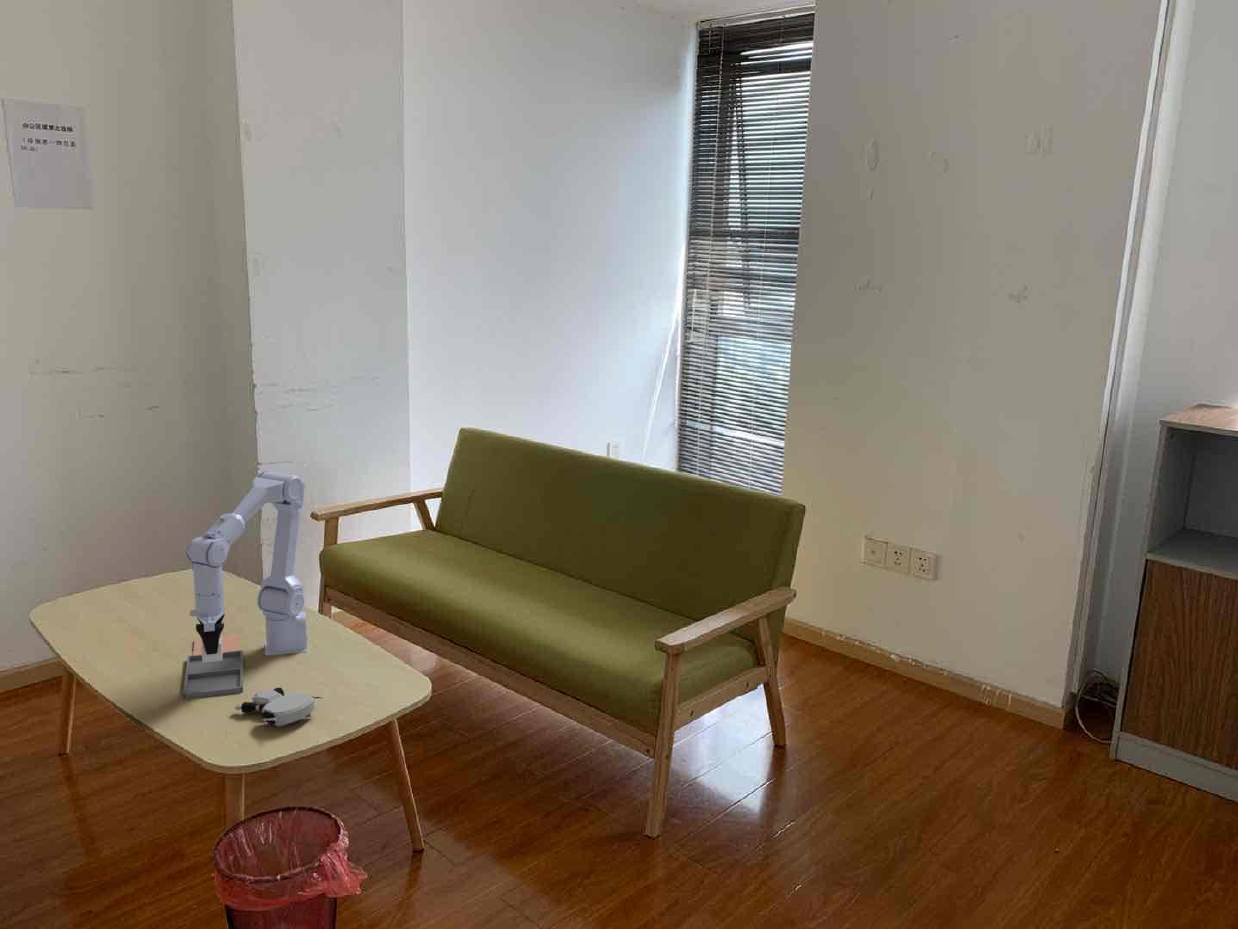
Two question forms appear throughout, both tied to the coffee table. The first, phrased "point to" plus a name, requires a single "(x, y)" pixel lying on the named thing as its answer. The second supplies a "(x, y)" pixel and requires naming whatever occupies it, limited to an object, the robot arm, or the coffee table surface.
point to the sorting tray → (213, 675)
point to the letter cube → (212, 656)
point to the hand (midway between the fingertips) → (212, 649)
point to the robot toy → (280, 706)
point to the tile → (228, 644)
